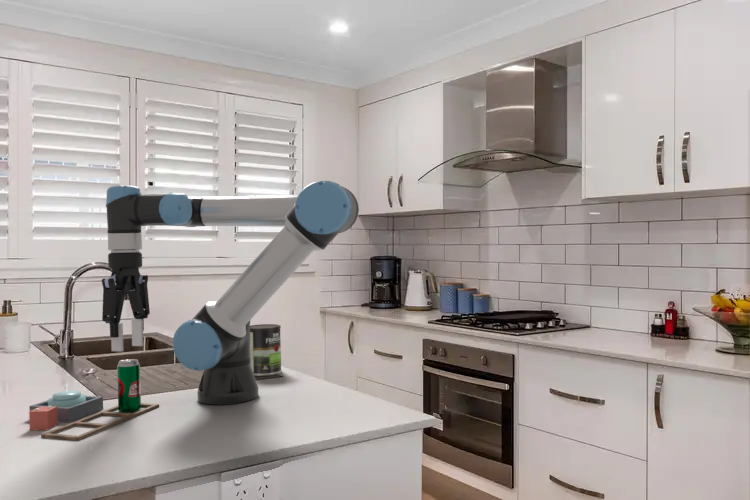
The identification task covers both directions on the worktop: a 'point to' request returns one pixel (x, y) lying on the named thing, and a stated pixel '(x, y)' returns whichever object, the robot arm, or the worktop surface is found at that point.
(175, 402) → the worktop surface
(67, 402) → the dome button
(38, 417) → the red cube
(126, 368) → the soda can
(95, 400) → the grey tray
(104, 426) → the track
